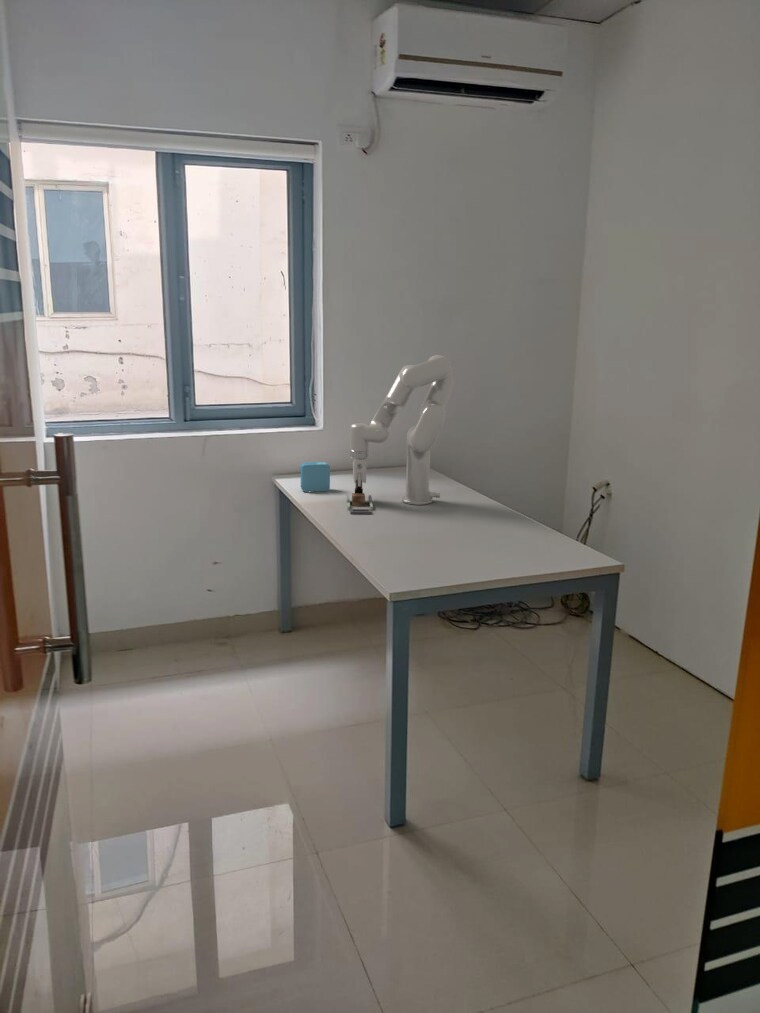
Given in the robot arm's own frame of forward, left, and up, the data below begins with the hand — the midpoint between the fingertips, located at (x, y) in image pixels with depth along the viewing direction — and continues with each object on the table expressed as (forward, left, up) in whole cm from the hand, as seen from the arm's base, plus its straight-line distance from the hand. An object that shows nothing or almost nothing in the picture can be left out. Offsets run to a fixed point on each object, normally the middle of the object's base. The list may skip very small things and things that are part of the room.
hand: (358, 498), depth 319 cm
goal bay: (0, +11, -1) cm, 11 cm away
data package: (+18, -18, -2) cm, 26 cm away
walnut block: (0, +5, -1) cm, 5 cm away
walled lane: (0, +3, -1) cm, 3 cm away
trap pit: (0, +18, -1) cm, 18 cm away
